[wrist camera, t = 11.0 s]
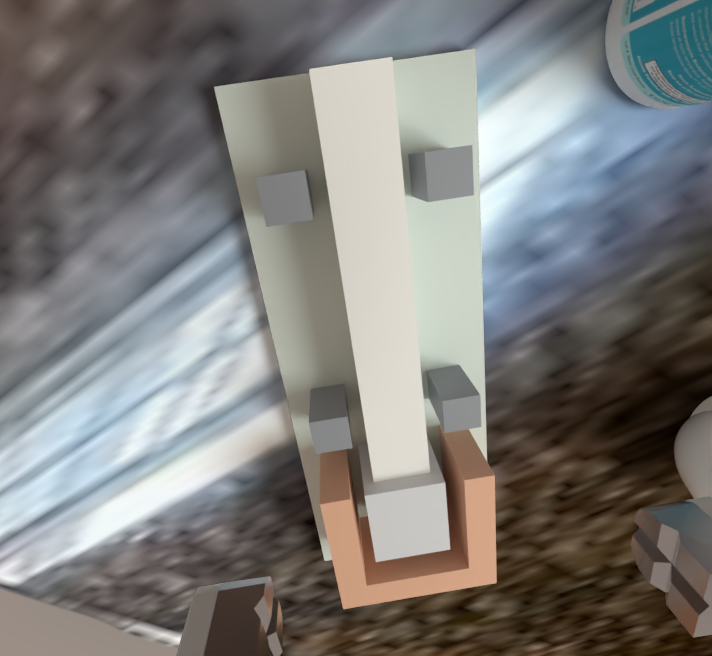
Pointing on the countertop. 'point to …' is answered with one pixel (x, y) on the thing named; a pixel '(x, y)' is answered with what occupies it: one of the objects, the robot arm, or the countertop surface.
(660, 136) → the countertop surface
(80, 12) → the countertop surface
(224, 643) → the robot arm
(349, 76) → the white long bar
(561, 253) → the countertop surface
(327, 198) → the board
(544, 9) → the countertop surface
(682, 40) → the pill bottle
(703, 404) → the teapot
